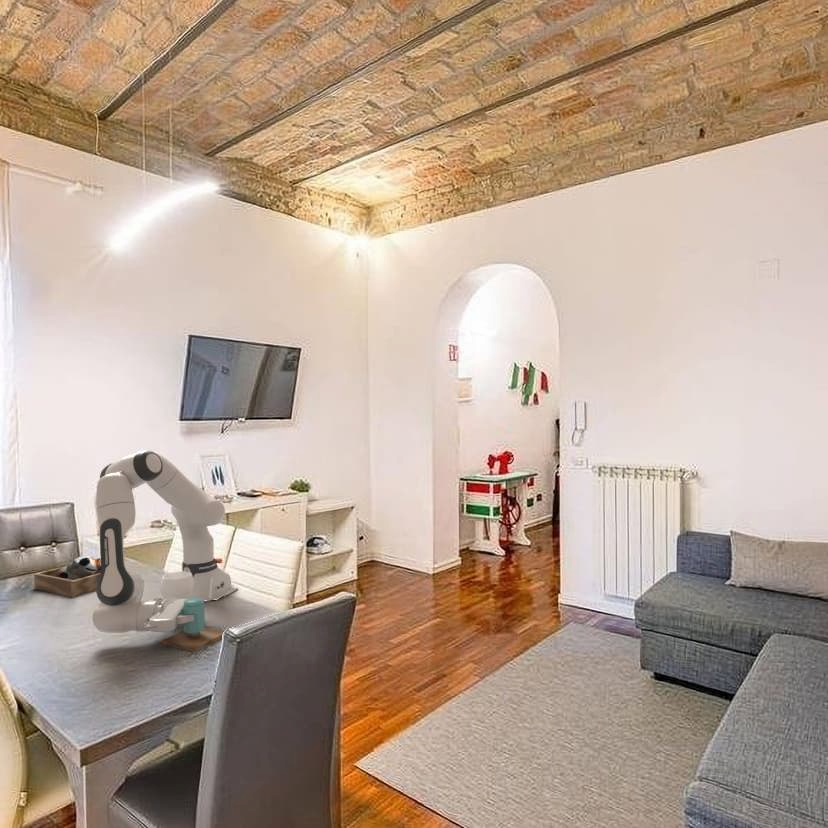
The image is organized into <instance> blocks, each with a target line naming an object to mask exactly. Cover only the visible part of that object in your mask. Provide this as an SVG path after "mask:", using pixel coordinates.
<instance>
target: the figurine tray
mask: <svg viewBox="0 0 828 828" xmlns="http://www.w3.org/2000/svg"><path fill="white" fill-rule="evenodd" d="M66 566H67V565H64V566H61V567H60V566H59V567H57V568H53V569H50V570H45V571H40V572H37V573H34V574H33V576H34V577H33V578H34V580H33V581H34V588H33V589H35V590H38V589H39V590H38V591H42V590H44V591H43V592H47V591H48V593H52V592H53V594H58V595H62V596H66V595H67V597H71V596H72V597H71V598H75V597H77V596H81V595H84V594H88V593H91V592H95V591H96V587H97V582H98V579H99V576H100V572H101V566H100V567H99V568H98V570H97V571H96V572H95V574H94V575H91V576H88V577H84V578H81V579H77V580H69V579H64V578H59V577H55V574H56V573H57V572H58V571H59V570H60V569H61V568H64V567H66Z"/></svg>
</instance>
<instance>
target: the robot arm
mask: <svg viewBox="0 0 828 828" xmlns="http://www.w3.org/2000/svg"><path fill="white" fill-rule="evenodd" d="M144 484H147V485H148V487H149V488H150V489H152V490H153V491H154V492H155V493H156V494H157V495H158V496H159V497H160V498H161V499H163V501H165V502H166V503H167V504H169V505H170V506H171V511H170V512H171V514H172V516H173V517H174V518H175V521H176V522H177V525H178V528H179V533H180V535H181V541H182V555H183V556H182V557H183V560H182V562H181V563H182V564H181V570H182V571H181V572H190V573H192V576H193V580H194V588H193V592H192V595H191V597H190V598H203V599H204V600H214V599H218V598H220V597H222V596H224V595H226V596H228V595H230V594H231V593H233V592H235V591H237V590H238V588H239V587H238V586H237V585H235V584H233V583H232V579H231V578H232V577H231V575H230V574H229V573H228V572H226V571H225V570H224V569H222V568H220V567H219V566H218V564H220V565H221V564H222V562H223V558H222V557H221V558H219V557H216V558H215V554H214V553H215V550H214V549H215V547H214V546H215V545H214V541H215V540H214V538H213V536H212V535H211V533H210V531H209V529H208V527H214V526H216V525H219V524H220V523H221V522H222V520H223V519H224V517H225V515H226V511H225V505H224V504H223V502H221V501H220V500H218V499H216V498H215V497H213V496H211V494H209V493H207V492H206V491H205V490H204V489H202V488H201V487H199V486H198V485H197V484H195V483H194V482H192V481H191V480H190V479H189V478H187V477H186V475H184V473H183V472H181V471H180V470H179V469H178V468H177V467H176V466H175V464H173V463H172V461H170V460H169V459H167V458H165V456H162V455H161V453H158V452H154V451H152V450H140V451H137V452H136V453H132V454H129V455H126V456H123V457H122V458H120V459H118V460H116V461H114V462H111V463H109V464H108V465H106V466H104V468H103V469H102V470H101V472H100V475H99V479H98V481H97V484H96V493H95V495H96V496H95V499H96V501H95V502H96V503H95V504H96V514H97V521H98V522H97V523H98V529H99V552H100V553H99V554H100V560H101V572H100V576H99V579H98V582H97V587H96V590H95V592H96V597H97V599H98V600H99V601H100V603H99V604H98V605H97V606H96V607H95V608H94V609H93V614H92V621H93V625H94V627H95V629H96V630H97V631H98V632H100V633H105V634H107V633H108V634H121V633H124V634H125V633H127V632H137V633H138V632H151V633H169V632H173V631H175V630H176V628H177V627H178V625H182V624H184V623H186V622H192V621H194V619H195V615H194V614H189V615H186V616H184V601H185V600H187V599H184V598H169V599H164V598H163V596H162V597H156V598H154V599H152V600H148V601H142V598H143V593H144V589H145V582H144V581H145V580H143V578H142V577H141V575H140V574H138V573H136V572H130V571H128V570H127V568H126V565H125V549H124V539H125V537H126V535H127V533H128V532H129V531H131V530H132V528H133V527H134V526H135V524H136V504H135V503H136V502H135V497H134V494H133V490H134V489H135V488H139V487H140V486H142V485H144ZM224 597H225V596H224Z"/></svg>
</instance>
